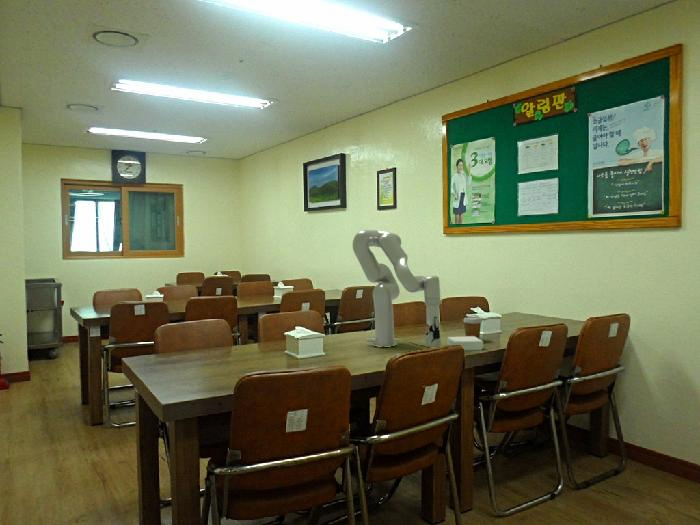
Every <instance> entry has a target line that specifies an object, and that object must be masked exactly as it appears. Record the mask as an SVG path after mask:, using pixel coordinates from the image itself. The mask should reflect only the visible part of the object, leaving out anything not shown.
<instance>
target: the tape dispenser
mask: <svg viewBox="0 0 700 525" xmlns="http://www.w3.org/2000/svg"><path fill="white" fill-rule="evenodd" d="M423 337H424V339H423V340H424V341H425V344H426V345H427V346H428V347H430V348H433V347H440V346H441V347H442V340H441V338H440V339H433V332H429V331H426V332H425V333H424V336H423ZM430 348H429V349H430Z"/></svg>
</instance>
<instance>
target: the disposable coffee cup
mask: <svg viewBox="0 0 700 525" xmlns="http://www.w3.org/2000/svg"><path fill="white" fill-rule="evenodd" d="M462 322H463V325H464V333H465V336H475V337H477V338H478V339H480V336H481V326H482V318H481V317H476V316H468V317H464V318H463V320H462Z"/></svg>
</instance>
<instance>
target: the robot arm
mask: <svg viewBox="0 0 700 525" xmlns="http://www.w3.org/2000/svg"><path fill="white" fill-rule="evenodd" d="M370 247H377V248H380V249H381V250H382V251H383V253H384V255H385V256H386V257H387V258H388V260H389V261H390V263H391V265H392V266H393V269H394V272H395V273H394V274H395V276H396V278H397V280H398V281H399V282H400V284H401V285H402V287H403V288H404V289H405V290H406V291H407V292H409V293H418V292H422V291H423V296H424V305H425V306H426V313H425V314H426V315H425V316H426V324H427V325H428V333H429V332H433V339H440V340H441V333H440V325H441V322H440V321H441V320H440V307H439V306H440V305H441V288H440V285H441V284H440V277H439V276H436V275H428V276H424V275H416V276H415V275H414V274H413V272H411V270H410V268H409V266H408V258H409V257H408V254H407V253H406V252H405V250H404V249H403V248H402V239H401V237H400V236H399V235H398V234H396V233H392V232H387V231H380V230H375V229H363V230H360V231H357V233H356V234H355V235H354V237H353V240H352V250H353V252H354V255H355V257H356V258H357V261H358V263H359V265H360V267H361V269H362V270H363V273H364V275H365V277H366V279H367V280H368V282H370V283H373V284H375V283H377V285H375V286H374V288H373V291H372V299H373V300H372V301H373V306H374V328H375V329H374V336H372V337H366V339H365V341H366V342H367V343H372V344H374V345H378V346H393V345H397V346H398V342H397V341H395V320H394V316H395V315H394V313H395V312H394V305H393V301H395V300H396V299H398V297H399V296H400V292H401V291H400V290H401V289H400V287H399V286H400V285H399V283H397V280H396V279H395V276H394V274H393V272H392V271H391V269H390V267H389V266H388V265H386V264H384V263H379V262H378V260H377V258H376V256H375V254H374V253H373V251H372V250H371V249H370Z"/></svg>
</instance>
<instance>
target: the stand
mask: <svg viewBox="0 0 700 525" xmlns="http://www.w3.org/2000/svg"><path fill="white" fill-rule="evenodd" d="M446 338H447V339H446V342H447V343H446V344H447V346H448V345H461V346H463V347H464V348H465V350H464V351H483V350H484V341H483V340H482V339H480V338H479V339H478V338H477V337H475V336H466V335H465V336H448V337H446ZM482 349H483V350H482Z"/></svg>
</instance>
